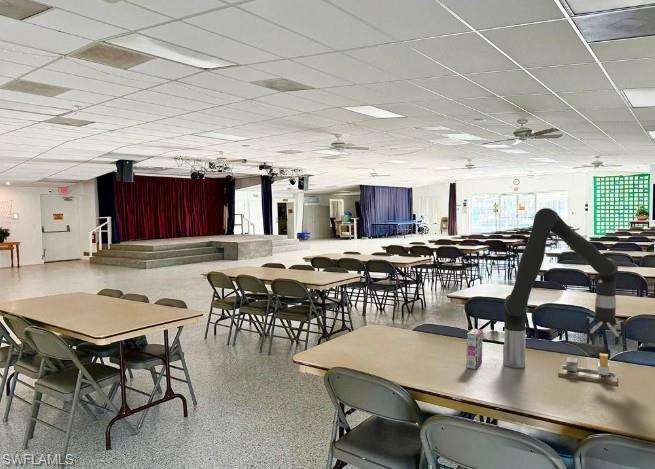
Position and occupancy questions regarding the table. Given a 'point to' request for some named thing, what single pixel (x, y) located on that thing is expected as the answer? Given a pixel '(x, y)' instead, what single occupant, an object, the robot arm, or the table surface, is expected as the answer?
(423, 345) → the table surface
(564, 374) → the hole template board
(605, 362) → the block
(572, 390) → the table surface
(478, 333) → the candy bar box
